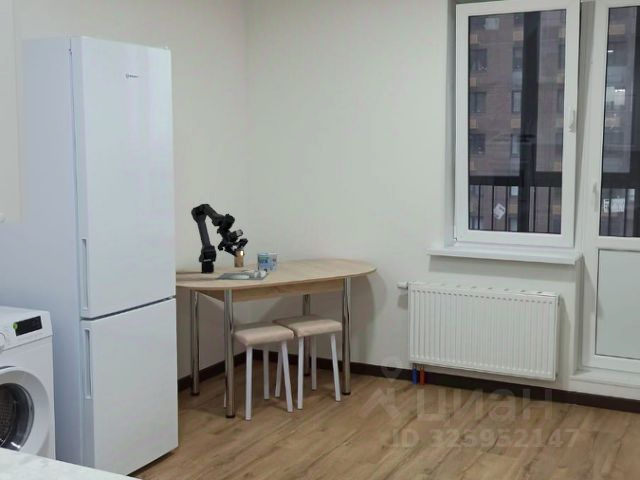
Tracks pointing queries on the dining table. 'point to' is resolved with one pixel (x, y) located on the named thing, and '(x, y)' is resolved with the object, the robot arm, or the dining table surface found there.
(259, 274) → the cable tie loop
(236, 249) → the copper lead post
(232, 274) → the charcoal mat
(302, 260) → the dining table surface
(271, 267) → the light bulb box
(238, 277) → the sage pad
